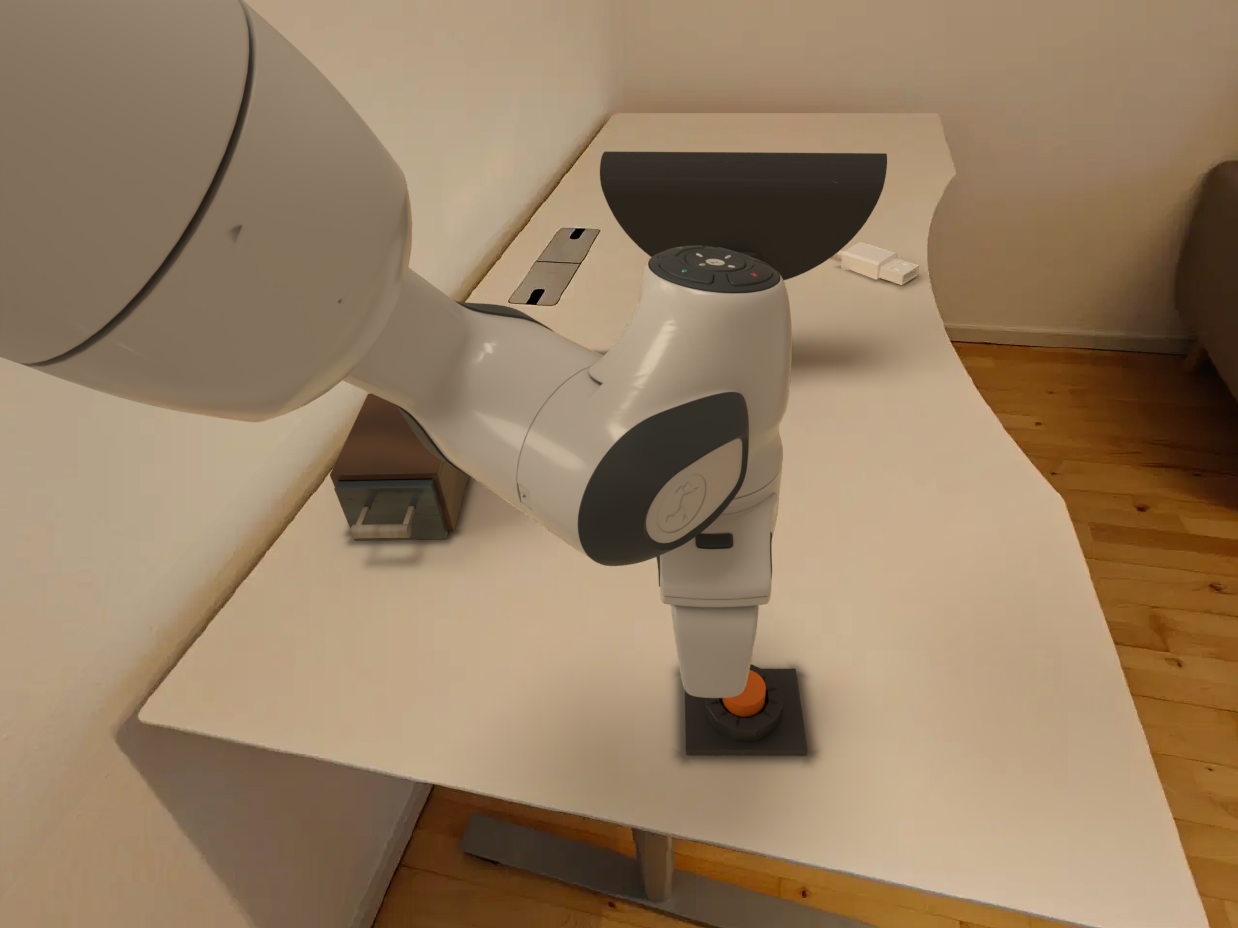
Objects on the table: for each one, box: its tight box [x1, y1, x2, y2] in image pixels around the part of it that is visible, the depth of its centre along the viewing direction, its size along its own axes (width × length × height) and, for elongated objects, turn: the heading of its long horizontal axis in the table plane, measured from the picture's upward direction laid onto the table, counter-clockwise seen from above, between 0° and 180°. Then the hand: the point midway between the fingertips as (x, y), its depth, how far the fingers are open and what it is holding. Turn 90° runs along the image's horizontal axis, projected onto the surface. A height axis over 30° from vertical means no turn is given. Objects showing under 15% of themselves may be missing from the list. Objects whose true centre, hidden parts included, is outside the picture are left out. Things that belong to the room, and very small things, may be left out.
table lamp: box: [599, 151, 888, 281], centre depth 104 cm, size 40×28×30 cm
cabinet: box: [329, 393, 470, 533], centre depth 93 cm, size 15×12×10 cm
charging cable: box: [835, 241, 920, 286], centre depth 134 cm, size 5×32×3 cm, turn 41°
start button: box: [722, 670, 766, 717], centre depth 69 cm, size 4×4×2 cm
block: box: [684, 664, 808, 757], centre depth 70 cm, size 8×10×4 cm
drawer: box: [334, 478, 449, 541], centre depth 90 cm, size 18×10×8 cm, turn 177°
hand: (707, 623), depth 61 cm, fingers closed
